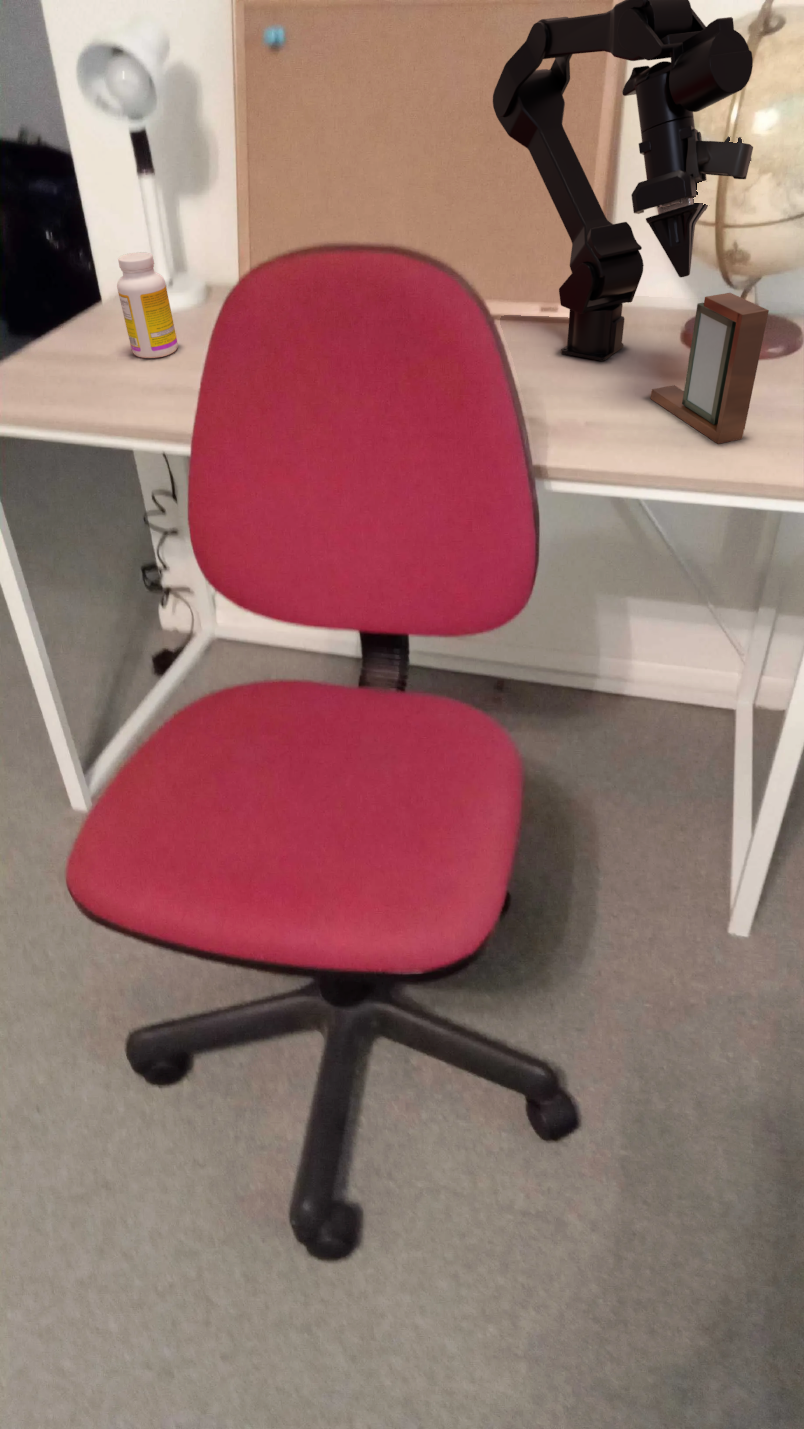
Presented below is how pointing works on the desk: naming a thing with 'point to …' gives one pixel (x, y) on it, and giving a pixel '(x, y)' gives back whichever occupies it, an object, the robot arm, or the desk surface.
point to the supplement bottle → (146, 307)
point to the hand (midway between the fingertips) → (684, 276)
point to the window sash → (708, 363)
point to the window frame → (738, 373)
